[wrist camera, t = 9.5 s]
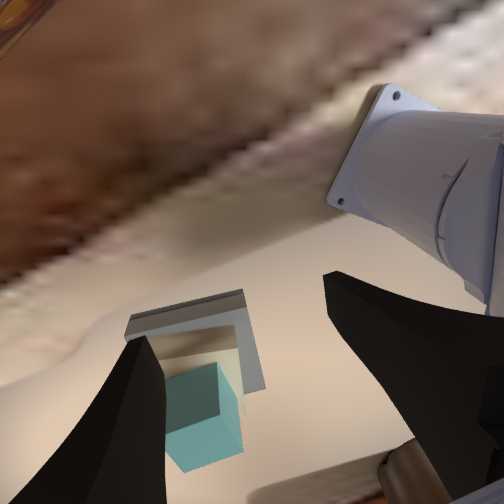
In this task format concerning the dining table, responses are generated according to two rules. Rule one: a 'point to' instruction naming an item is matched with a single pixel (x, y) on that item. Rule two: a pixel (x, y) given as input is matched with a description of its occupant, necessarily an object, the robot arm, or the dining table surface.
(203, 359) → the top slab
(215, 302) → the base slab
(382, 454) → the dining table surface
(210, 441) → the teal cube
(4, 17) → the candy box
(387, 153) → the robot arm
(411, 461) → the plant pot
